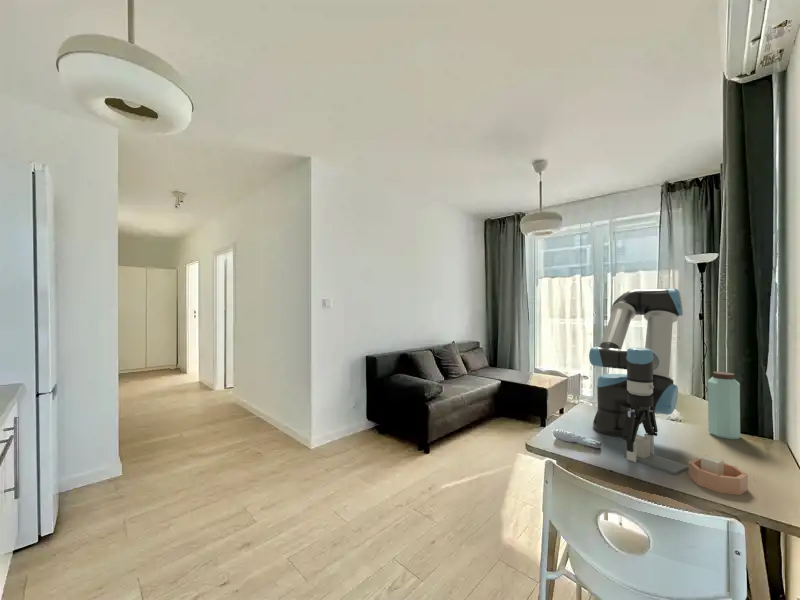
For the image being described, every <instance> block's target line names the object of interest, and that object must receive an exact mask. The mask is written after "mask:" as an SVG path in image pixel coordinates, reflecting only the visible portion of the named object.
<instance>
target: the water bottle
mask: <svg viewBox="0 0 800 600" xmlns="http://www.w3.org/2000/svg"><path fill="white" fill-rule="evenodd" d="M707 408H708V410H707V416H708V417H707V418H708V419H707V421H708V424H707V425H708V429H707V430H708V432H709V433H710V435H712V436H715V437H717V438H721V439H727V440H739V439H740V438H741V384H740V382H739V381H738V380H736V379H735V373H732V372H727V371H712V376H711V378H709V379H708V380H707Z"/></svg>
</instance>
